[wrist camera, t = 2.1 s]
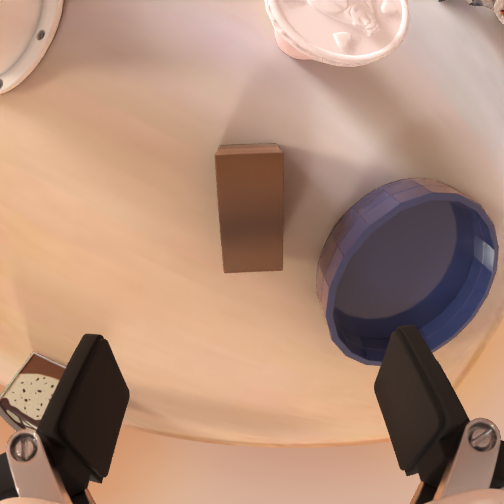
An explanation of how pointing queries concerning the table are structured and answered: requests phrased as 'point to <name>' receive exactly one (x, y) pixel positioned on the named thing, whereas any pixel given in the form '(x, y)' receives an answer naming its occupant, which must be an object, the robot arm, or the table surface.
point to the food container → (30, 392)
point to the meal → (490, 6)
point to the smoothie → (339, 29)
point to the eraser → (250, 206)
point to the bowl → (405, 267)
